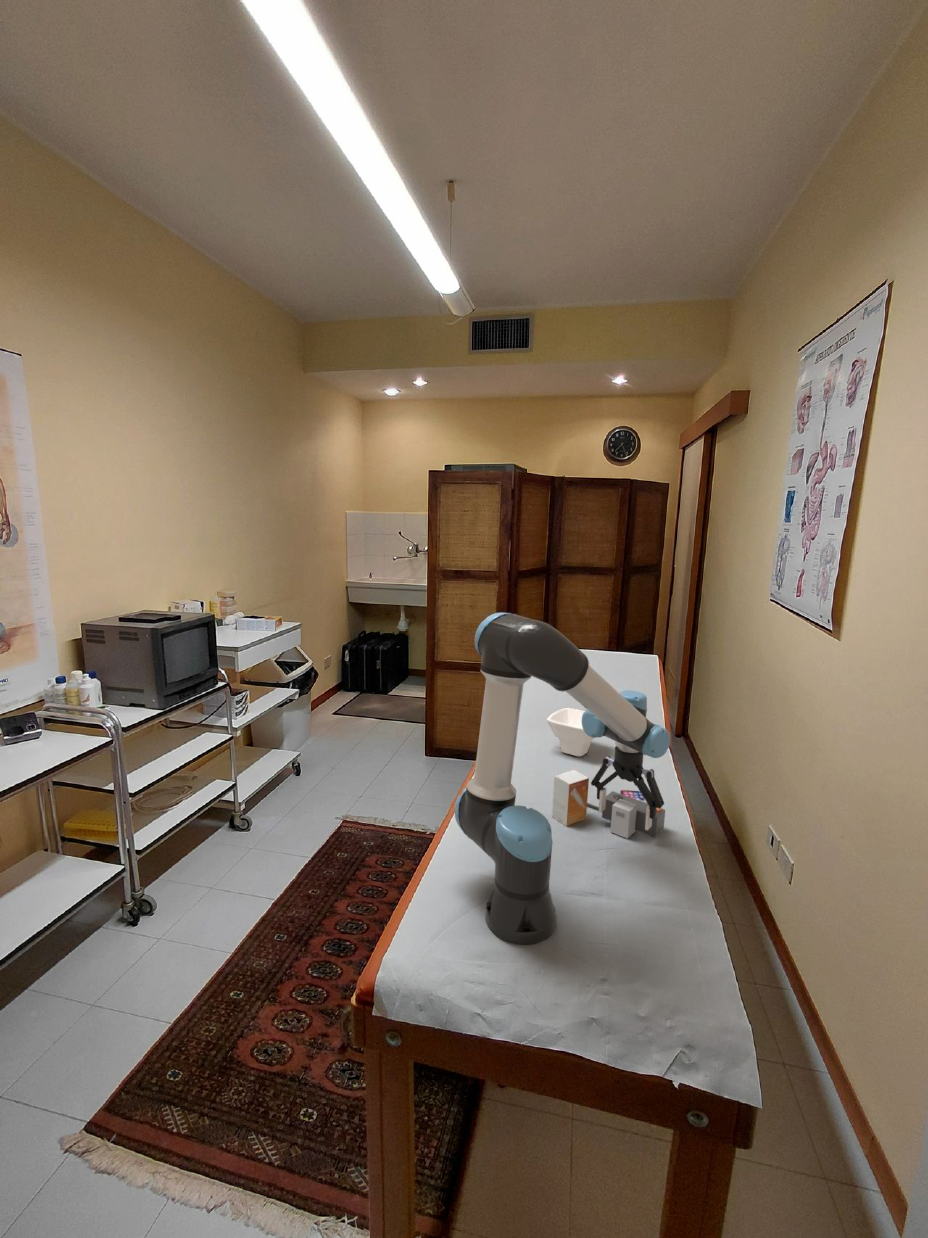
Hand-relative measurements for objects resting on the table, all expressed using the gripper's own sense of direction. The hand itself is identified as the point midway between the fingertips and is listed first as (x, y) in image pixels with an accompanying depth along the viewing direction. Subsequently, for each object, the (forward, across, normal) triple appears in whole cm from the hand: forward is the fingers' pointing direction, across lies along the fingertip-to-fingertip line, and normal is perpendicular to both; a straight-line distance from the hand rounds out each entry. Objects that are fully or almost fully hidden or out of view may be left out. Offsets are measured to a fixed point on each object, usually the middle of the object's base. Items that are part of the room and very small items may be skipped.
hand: (624, 819), depth 151 cm
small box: (+4, +15, +4) cm, 16 cm away
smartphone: (+5, +4, -18) cm, 19 cm away
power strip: (+4, +4, -6) cm, 8 cm away
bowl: (+5, +37, -39) cm, 54 cm away
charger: (+4, 0, -1) cm, 4 cm away
